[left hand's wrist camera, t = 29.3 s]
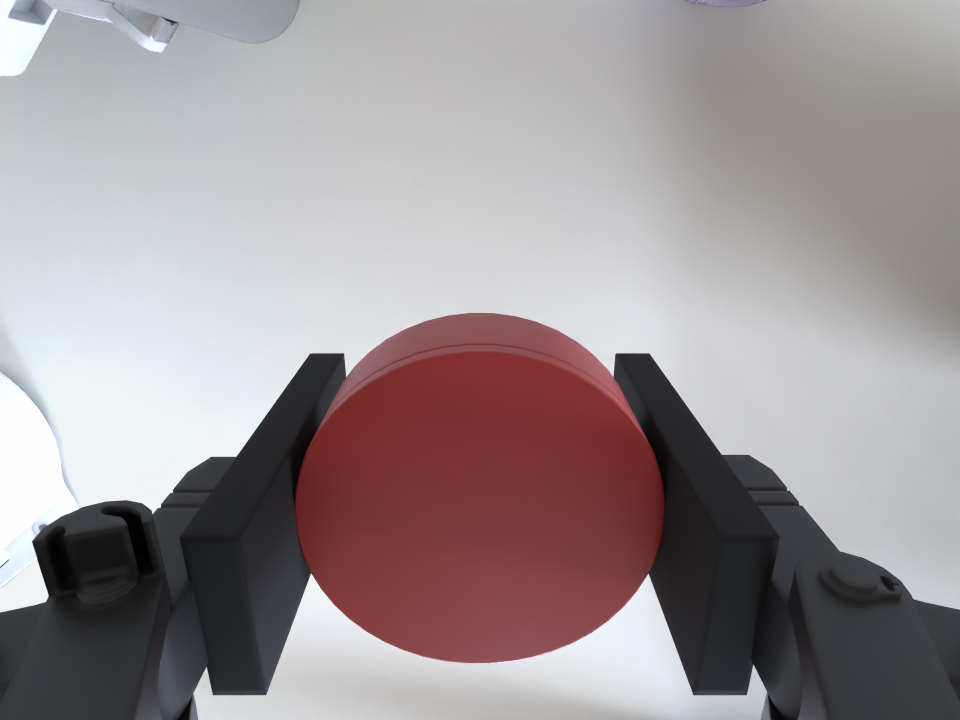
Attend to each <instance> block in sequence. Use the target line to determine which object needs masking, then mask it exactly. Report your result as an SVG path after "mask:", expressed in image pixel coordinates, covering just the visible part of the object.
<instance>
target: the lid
mask: <svg viewBox="0 0 960 720" xmlns="http://www.w3.org/2000/svg"><path fill="white" fill-rule="evenodd" d="M664 512H665V491H664V485H663V480H662V474H661V471H660V468H659V465H658V462H657V459H656V456H655V454H654V452H653V450H652V448H651V446H650V444H649V442H648V440H647V438H646V436H645V434H644V432H643V430H642V429H641V427H640V425H639V423H638V421H637V419H636V417H635V415H634V413H633V411H632V409H631V407H630V405H629V404H628V402H627V400H626V398H625V396H624V394H623V392H622V390H621V388H620V386H619V385H618V383H617V382H616V380H615V379H614V378H613V376H612V375H611V374H610V372H609V371H608V370H607V368H606V367H605V366H604V365H603V364H602V363H601V362H600V361H599V360H598V359H597V358H596V357H595V356H594V355H593V354H592V353H591V352H589V351H588V350H587V349H585V348H584V347H583V346H581V345H580V344H579V343H578V342H576V341H575V340H573V339H571V338H569V337H568V336H566V335H564V334H562V333H561V332H559V331H557V330H555V329H552V328H550V327H548V326H545V325H543V324H540V323H538V322H535V321H531V320H527V319H523V318H520V317H516V316H509V315H502V314H495V313H467V314H458V315H450V316H445V317H441V318H437V319H432V320H428V321H425V322H422V323H420V324H417V325H415V326H412V327H410V328H407V329H405V330H403V331H401V332H399V333H397V334H396V335H394V336H392V337H390V338H388V339H387V340H385V341H384V342H383V343H381V344H380V345H378V346H377V347H376V348H374V349H373V350H372V351H370V352H369V353H368V354H367V355H366V356H365V357H364V358H363V359H362V360H361V361H360V362H359V363H358V364H357V365H356V366H355V367H354V368H353V370H352V371H351V372H350V374H349V375H348V376H347V377H346V379H345V380H344V381H343V383H342V385H341V386H340V388H339V390H338V392H337V394H336V395H335V397H334V399H333V401H332V403H331V405H330V407H329V409H328V411H327V412H326V414H325V416H324V418H323V420H322V422H321V424H320V426H319V428H318V430H317V432H316V434H315V436H314V438H313V439H312V441H311V443H310V445H309V447H308V449H307V451H306V454H305V457H304V459H303V462H302V465H301V467H300V470H299V474H298V479H297V484H296V489H295V516H296V523H297V531H298V538H299V543H300V547H301V550H302V554H303V556H304V558H305V560H306V563H307V565H308V567H309V569H310V572H311V573H312V575H313V576H314V578H315V580H316V581H317V583H318V585H319V586H320V588H321V589H322V590H323V592H324V593H325V594H326V595H327V596H328V598H329V599H330V600H331V601H332V603H333V604H334V605H335V606H336V607H337V608H338V609H339V610H340V611H342V612H343V613H344V614H345V615H346V616H347V617H348V618H349V619H350V620H352V621H353V622H354V623H356V624H357V625H358V626H360V627H361V628H362V629H364V630H365V631H367V632H368V633H370V634H372V635H374V636H375V637H377V638H379V639H380V640H382V641H384V642H386V643H388V644H391V645H393V646H395V647H397V648H400V649H402V650H404V651H408V652H411V653H414V654H417V655H420V656H423V657H427V658H432V659H437V660H442V661H447V662H457V663H466V664H492V663H503V662H512V661H518V660H523V659H528V658H533V657H536V656H539V655H543V654H546V653H549V652H553V651H555V650H557V649H560V648H562V647H565V646H567V645H569V644H572V643H574V642H576V641H577V640H579V639H581V638H583V637H585V636H586V635H588V634H590V633H592V632H593V631H594V630H596V629H597V628H599V627H600V626H601V625H603V624H604V623H606V622H607V621H608V620H610V619H611V618H612V617H613V616H614V615H615V614H616V613H617V612H618V611H619V610H621V609H622V608H623V607H624V606H625V604H626V603H627V602H628V601H629V600H630V599H631V597H632V596H633V595H634V594H635V593H636V592H637V590H638V589H639V587H640V586H641V584H642V583H643V581H644V579H645V578H646V576H647V575H648V573H649V571H650V569H651V567H652V564H653V562H654V560H655V558H656V556H657V553H658V549H659V546H660V542H661V536H662V528H663V520H664Z"/></svg>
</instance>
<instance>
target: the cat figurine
mask: <svg viewBox="0 0 960 720" xmlns="http://www.w3.org/2000/svg"><path fill="white" fill-rule="evenodd" d="M686 1H689V2H692V3H707V4H710V5H713V6H734V7H745V6H751V5H754V4H757V3H760V2H763V1H766V0H686Z"/></svg>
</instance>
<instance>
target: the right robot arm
mask: <svg viewBox="0 0 960 720" xmlns="http://www.w3.org/2000/svg"><path fill="white" fill-rule="evenodd" d="M58 10H60V11H64V12H68V13H72V14H76V15H80V16H84V17H88V18H93V19H98V20H102V21H107V22H111V23H113V24H115V25H116V26H117V27H118V28H119V29H121V30H122V31H123V32H124V33H125V34H127V35H128V36H129V37H130V38H131V39H133V40H134V41H135V42H136V43H138V44H139V45H141V46H142V47H144V48H146V49H147V50H149V51H154V52H159V53H162V52H163V50H164V48H165V47H166V45H167V44H168V42H169V40H170V39H171V37H172V35H173V34H174V32H175V31H176V29H177V27H178V26H179V23H178V22H176V21H172V20H169V19H166V18H163V17H160V16H156V15H153V14H150V13H147V12H143V11H140V10H137V9H134V8H131V7H127V6H124V5H121V4H118V3H115V4H114V3H110V2H105V1H101V0H0V76H14V75H19V74H21V73H22V72H23V71H24V70H25V69H26V67H27V65H28V64H29V62H30V60H31V58H32V56H33V55H34V53H35V51H36V49H37V47H38V45H39V44H40V42H41V40H42V38H43V36H44V35H45V33H46V31H47V29H48V27H49V25H50V24H51V22H52V20H53V18H54V16H55V15H56V13H57V11H58ZM78 509H79V507H78V505H77V504H76V502H75V500H74V498H73V497H72V495H71V493H70V492H69V490H68V489H67V487H66V485H65V483H64V480H63V476H62V471H61V463H60V456H59V451H58V447H57V444H56V441H55V438H54V435H53V433H52V431H51V429H50V427H49V425H48V423H47V421H46V419H45V418H44V416H43V415H42V413H41V412H40V410H39V409H38V408H37V406H36V405H35V404H34V402H33V401H32V400H31V399H30V398H29V397H28V396H27V395H26V393H25V392H24V391H23V390H22V389H21V388H19V387H18V386H17V385H16V384H15V383H14V382H13V381H12V380H10V379H9V378H8V377H7V376H5V375H4V374H3V373H1V372H0V587H1V586H2V585H4V584H5V583H6V582H7V581H9V580H10V579H11V578H12V577H14V576H15V575H16V574H18V573H19V572H20V571H21V570H23V569H24V568H25V567H27V566H28V565H29V564H30V563H32V562H33V561H34V560H35V559H37V557H36V553H35V550H34V547H33V544H32V541H33V539H34V538H35V537H36V536H37V535H38V534H39V533H40V531H41V530H42V529H43V528H44V527H46V526H47V525H49V524H51V523H52V522H54V521H55V520H57V519H58V518H60V517H61V516H64V515H66V514H68V513H71V512H73V511H75V510H78Z"/></svg>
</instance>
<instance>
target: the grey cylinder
mask: <svg viewBox="0 0 960 720" xmlns="http://www.w3.org/2000/svg"><path fill="white" fill-rule="evenodd" d="M108 1H111V2H115V3H118V4H121V5H124V6H127V7H131V8H134V9H137V10H140V11H143V12H147V13H150V14H153V15H156V16H160V17H163V18H166V19H169V20H172V21H176V22H179V23H182V24H185V25H189V26H192V27H195V28H198V29H201V30H205V31H208V32H211V33H214V34H217V35H221V36H224V37H227V38H230V39H234V40H237V41H240V42H244V43H262V42H266V41H269V40H271V39H273V38H276V37H277V36H278V35H280V34H281V33H282V32H283V31H285V30H286V29H287V27H288V26H289V25H290V23H291V22H292V20H293V18H294V16H295V14H296V12H297V9H298V5H299V0H108Z"/></svg>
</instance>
